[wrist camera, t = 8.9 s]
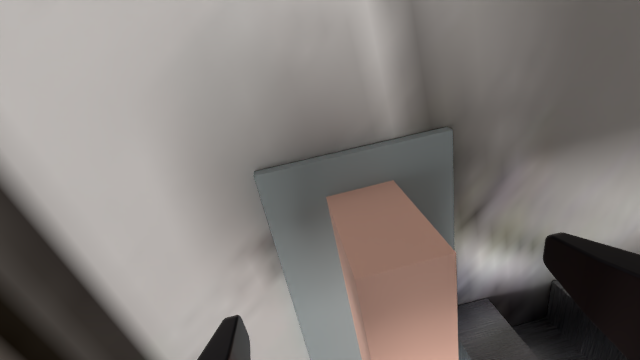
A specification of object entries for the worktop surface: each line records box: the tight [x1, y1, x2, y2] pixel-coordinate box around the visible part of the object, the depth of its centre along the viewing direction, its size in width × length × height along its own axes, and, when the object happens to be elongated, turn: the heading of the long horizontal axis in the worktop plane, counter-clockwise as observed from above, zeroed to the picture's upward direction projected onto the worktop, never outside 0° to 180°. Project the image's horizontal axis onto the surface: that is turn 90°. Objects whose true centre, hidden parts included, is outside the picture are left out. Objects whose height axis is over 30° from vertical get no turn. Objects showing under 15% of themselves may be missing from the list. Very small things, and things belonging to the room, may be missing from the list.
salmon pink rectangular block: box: [326, 180, 459, 360], centre depth 12 cm, size 10×2×4 cm, turn 12°
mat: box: [254, 127, 454, 360], centre depth 14 cm, size 13×7×1 cm, turn 11°
